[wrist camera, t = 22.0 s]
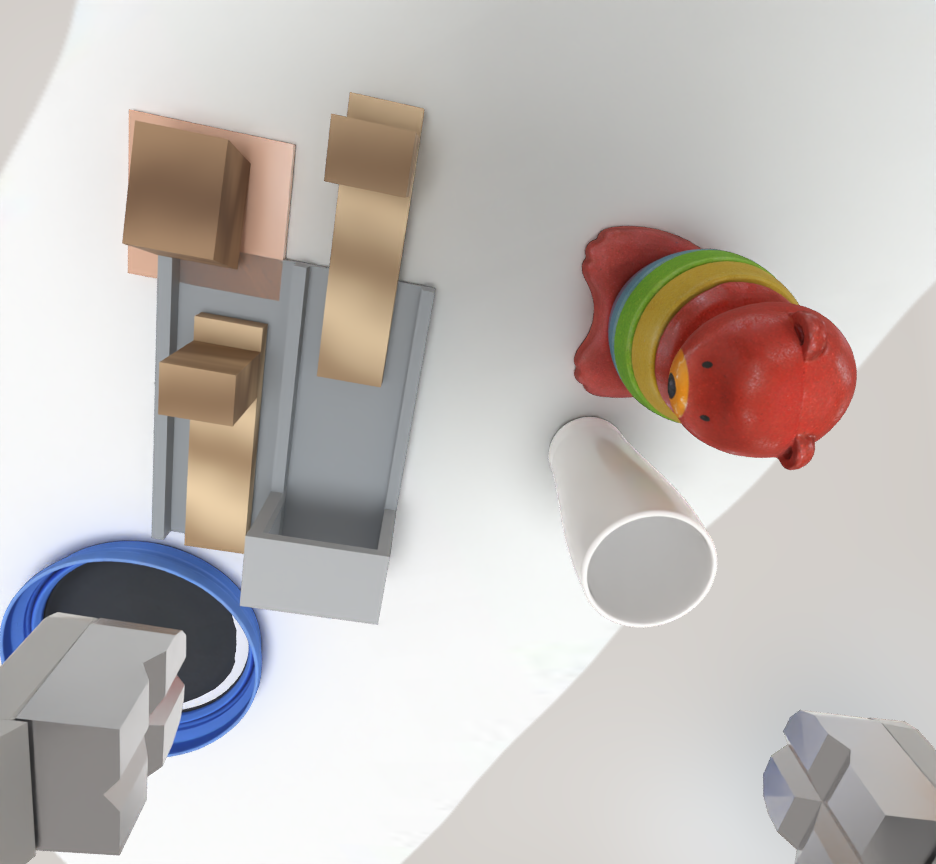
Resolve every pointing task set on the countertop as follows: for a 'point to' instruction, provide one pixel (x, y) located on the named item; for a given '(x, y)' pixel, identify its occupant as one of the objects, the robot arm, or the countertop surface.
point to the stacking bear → (712, 345)
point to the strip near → (367, 233)
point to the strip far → (218, 424)
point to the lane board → (301, 440)
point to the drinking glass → (628, 528)
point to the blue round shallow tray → (154, 621)
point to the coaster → (262, 208)
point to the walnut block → (186, 195)
